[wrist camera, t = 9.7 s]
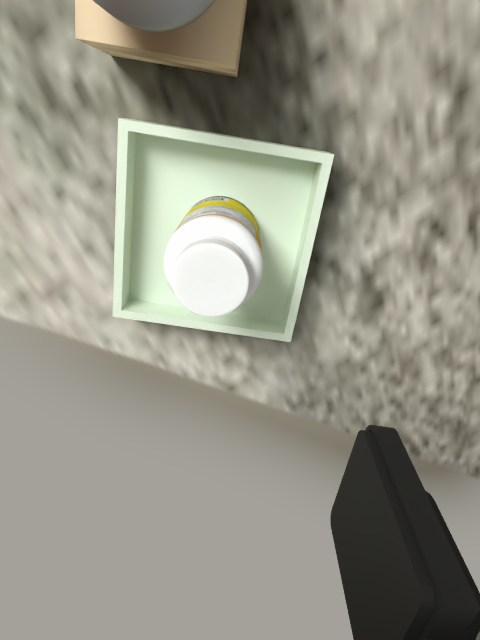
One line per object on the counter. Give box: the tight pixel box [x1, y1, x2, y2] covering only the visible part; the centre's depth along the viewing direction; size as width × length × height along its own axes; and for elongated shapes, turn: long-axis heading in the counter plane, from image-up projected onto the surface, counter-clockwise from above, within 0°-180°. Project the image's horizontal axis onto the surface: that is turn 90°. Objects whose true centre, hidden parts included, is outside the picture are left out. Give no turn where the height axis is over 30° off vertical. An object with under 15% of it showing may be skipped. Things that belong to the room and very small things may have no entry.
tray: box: [113, 118, 334, 342], centre depth 30 cm, size 13×13×3 cm
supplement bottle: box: [163, 196, 263, 317], centre depth 26 cm, size 6×6×10 cm
